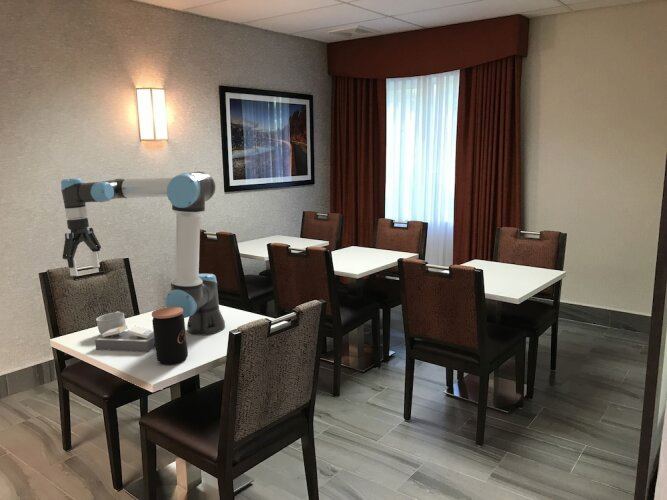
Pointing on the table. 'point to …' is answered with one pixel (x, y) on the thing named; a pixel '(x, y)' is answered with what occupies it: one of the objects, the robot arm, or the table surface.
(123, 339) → the power strip
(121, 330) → the rocker amber
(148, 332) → the white flat packet
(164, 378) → the table surface
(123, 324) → the teacup
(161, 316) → the coffee jar
